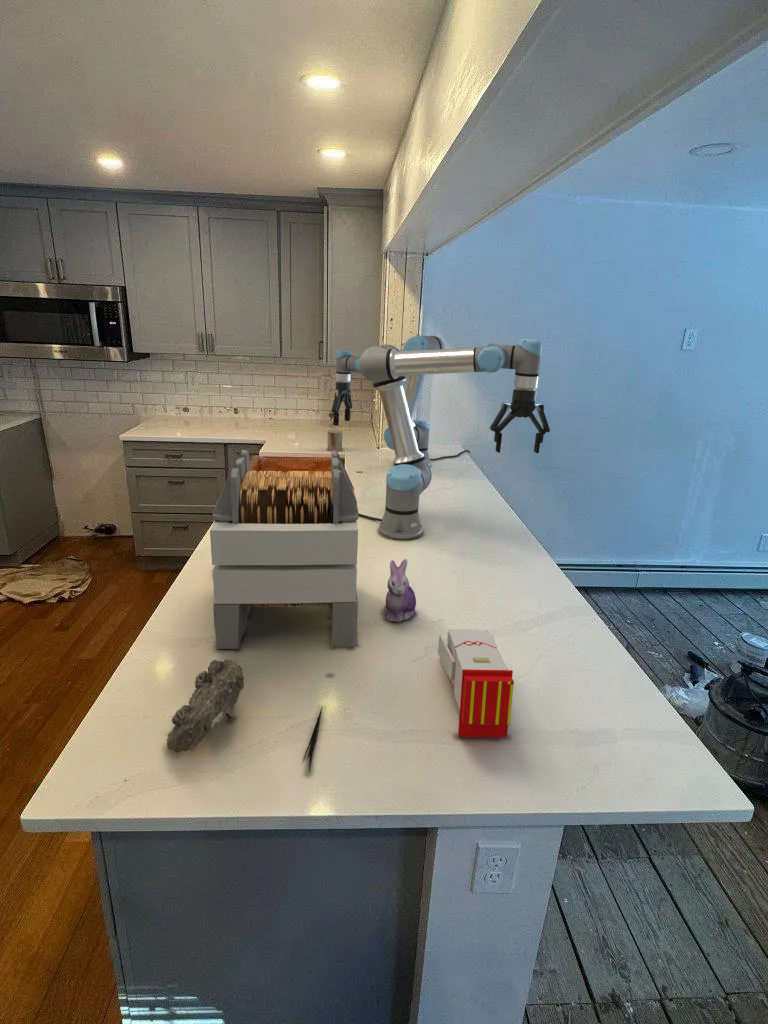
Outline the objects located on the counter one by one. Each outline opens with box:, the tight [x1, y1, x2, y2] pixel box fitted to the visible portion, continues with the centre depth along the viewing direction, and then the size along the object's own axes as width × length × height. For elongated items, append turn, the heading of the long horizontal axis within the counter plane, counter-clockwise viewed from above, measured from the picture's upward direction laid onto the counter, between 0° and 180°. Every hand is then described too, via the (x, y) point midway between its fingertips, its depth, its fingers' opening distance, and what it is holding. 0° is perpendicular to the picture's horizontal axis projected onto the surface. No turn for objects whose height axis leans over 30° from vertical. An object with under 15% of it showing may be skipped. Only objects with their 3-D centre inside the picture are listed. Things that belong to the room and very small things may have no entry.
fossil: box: [166, 658, 245, 754], centre depth 106 cm, size 22×10×15 cm
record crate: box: [209, 449, 360, 651], centre depth 139 cm, size 34×33×41 cm
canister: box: [327, 429, 343, 452], centre depth 311 cm, size 8×8×10 cm
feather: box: [301, 673, 332, 771], centre depth 108 cm, size 2×28×2 cm
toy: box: [437, 628, 515, 738], centre depth 117 cm, size 12×13×30 cm
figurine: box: [384, 558, 417, 623], centre depth 145 cm, size 9×10×15 cm
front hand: (517, 452), depth 193 cm, fingers open, 13 cm apart
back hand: (341, 423), depth 297 cm, fingers open, 13 cm apart
